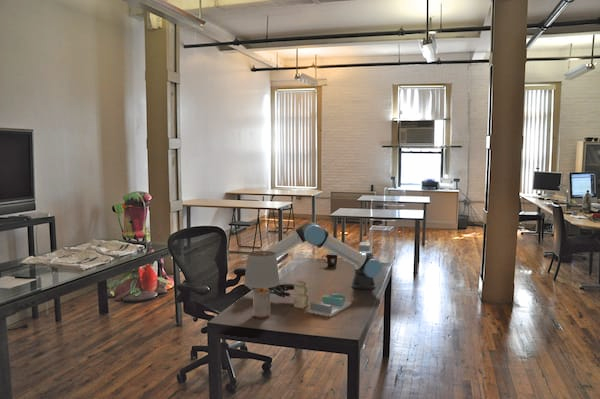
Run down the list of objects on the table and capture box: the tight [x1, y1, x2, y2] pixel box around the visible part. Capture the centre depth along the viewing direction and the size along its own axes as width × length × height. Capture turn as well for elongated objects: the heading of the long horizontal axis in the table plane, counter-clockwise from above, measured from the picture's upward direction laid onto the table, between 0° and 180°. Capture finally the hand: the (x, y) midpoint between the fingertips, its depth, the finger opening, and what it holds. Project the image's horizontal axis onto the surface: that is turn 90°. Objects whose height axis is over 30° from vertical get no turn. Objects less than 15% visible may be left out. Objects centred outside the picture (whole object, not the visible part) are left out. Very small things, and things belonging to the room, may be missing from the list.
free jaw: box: [322, 292, 346, 306], centre depth 278 cm, size 8×12×4 cm
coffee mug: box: [321, 252, 338, 268], centre depth 372 cm, size 12×9×10 cm
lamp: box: [243, 250, 281, 319], centre depth 258 cm, size 19×19×34 cm
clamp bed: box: [307, 300, 352, 318], centre depth 272 cm, size 25×14×6 cm, turn 148°
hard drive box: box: [358, 241, 371, 252], centre depth 361 cm, size 16×8×20 cm, turn 168°
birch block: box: [293, 279, 310, 309], centre depth 276 cm, size 6×6×14 cm
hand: (301, 292), depth 275 cm, fingers open, 13 cm apart
